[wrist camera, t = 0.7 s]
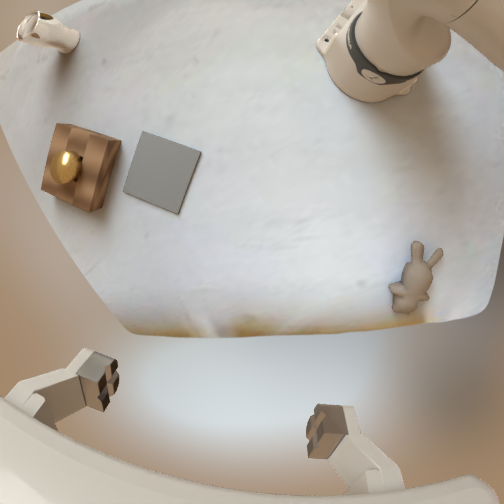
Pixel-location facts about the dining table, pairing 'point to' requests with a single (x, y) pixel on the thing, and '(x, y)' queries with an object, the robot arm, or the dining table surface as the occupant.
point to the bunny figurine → (414, 280)
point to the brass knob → (66, 166)
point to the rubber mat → (161, 171)
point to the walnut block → (93, 166)
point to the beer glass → (47, 32)
